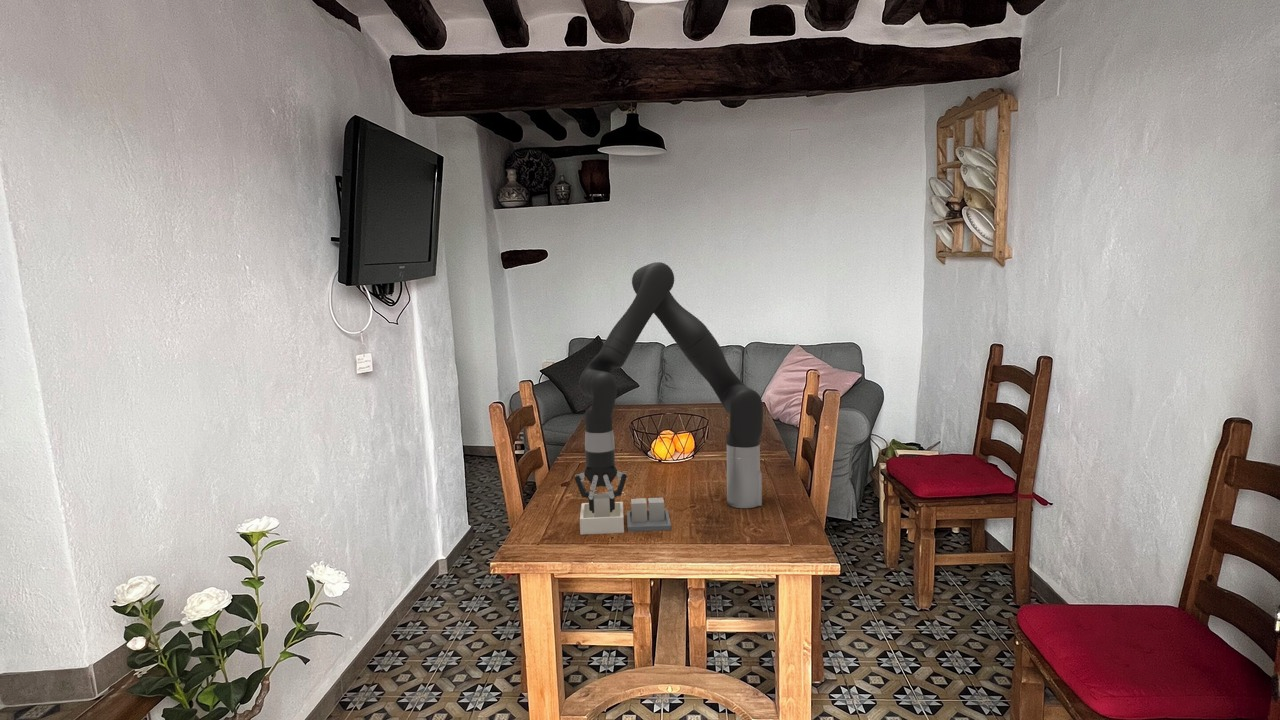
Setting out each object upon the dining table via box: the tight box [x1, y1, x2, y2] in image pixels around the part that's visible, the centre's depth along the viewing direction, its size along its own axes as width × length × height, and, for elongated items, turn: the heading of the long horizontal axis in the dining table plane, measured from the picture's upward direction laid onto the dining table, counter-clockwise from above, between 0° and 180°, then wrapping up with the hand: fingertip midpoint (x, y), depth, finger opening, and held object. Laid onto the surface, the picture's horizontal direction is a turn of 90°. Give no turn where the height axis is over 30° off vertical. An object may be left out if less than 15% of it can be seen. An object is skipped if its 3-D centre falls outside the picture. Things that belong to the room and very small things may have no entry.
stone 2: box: [630, 497, 648, 522], centre depth 190 cm, size 4×4×5 cm
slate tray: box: [626, 508, 672, 533], centre depth 188 cm, size 11×12×2 cm
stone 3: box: [647, 497, 665, 521], centre depth 190 cm, size 4×4×5 cm
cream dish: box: [579, 501, 625, 535], centre depth 187 cm, size 11×12×5 cm
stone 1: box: [594, 492, 610, 517], centre depth 186 cm, size 4×4×5 cm
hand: (602, 511), depth 187 cm, fingers closed on stone 1, 4 cm apart
